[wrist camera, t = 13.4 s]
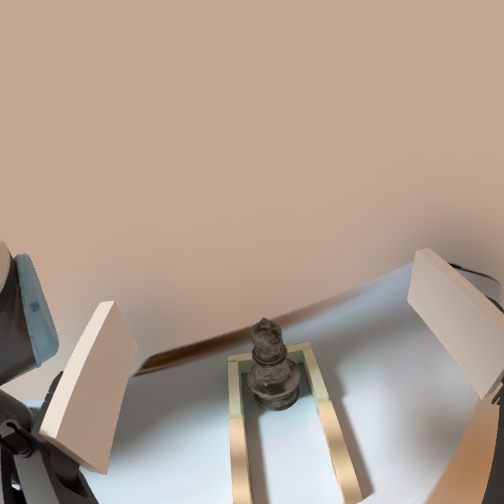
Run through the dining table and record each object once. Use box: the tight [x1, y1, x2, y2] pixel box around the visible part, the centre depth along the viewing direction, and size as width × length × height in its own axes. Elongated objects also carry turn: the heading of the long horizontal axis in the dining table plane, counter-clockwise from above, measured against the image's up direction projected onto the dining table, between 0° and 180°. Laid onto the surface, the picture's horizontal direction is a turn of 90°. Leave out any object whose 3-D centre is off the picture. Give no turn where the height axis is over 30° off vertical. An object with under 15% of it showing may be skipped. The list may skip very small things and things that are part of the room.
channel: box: [229, 400, 363, 504], centre depth 20 cm, size 12×11×2 cm
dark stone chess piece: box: [247, 318, 301, 411], centre depth 26 cm, size 6×6×12 cm
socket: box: [228, 341, 329, 422], centre depth 29 cm, size 9×10×2 cm
